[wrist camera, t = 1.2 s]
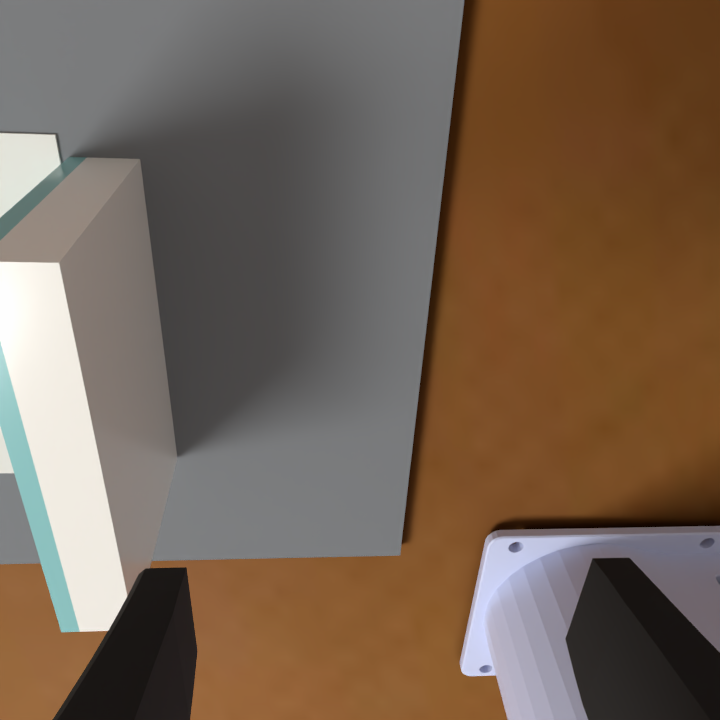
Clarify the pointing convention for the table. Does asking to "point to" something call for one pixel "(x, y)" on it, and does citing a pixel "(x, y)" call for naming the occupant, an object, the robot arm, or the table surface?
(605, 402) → the table surface
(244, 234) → the mat
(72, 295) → the tile
